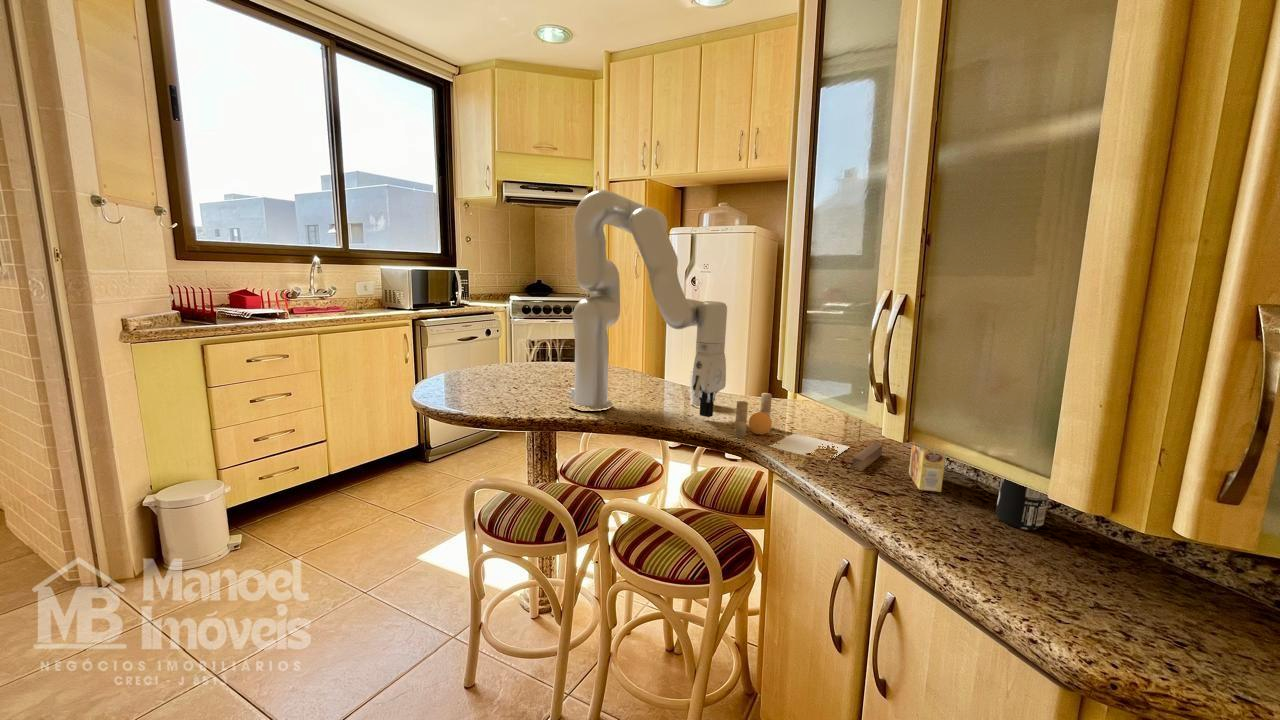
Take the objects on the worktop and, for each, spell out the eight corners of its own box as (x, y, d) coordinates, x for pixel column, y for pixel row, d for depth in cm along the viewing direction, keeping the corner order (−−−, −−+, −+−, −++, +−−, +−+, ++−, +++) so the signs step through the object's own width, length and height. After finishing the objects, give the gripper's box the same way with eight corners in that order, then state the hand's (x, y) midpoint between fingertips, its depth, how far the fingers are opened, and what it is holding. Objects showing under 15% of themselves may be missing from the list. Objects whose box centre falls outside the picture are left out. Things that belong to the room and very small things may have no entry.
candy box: (942, 493, 99) (953, 415, 96) (917, 490, 100) (928, 413, 97) (928, 476, 107) (939, 403, 105) (906, 473, 108) (915, 401, 106)
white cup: (684, 402, 159) (686, 370, 158) (708, 401, 162) (710, 370, 160) (694, 409, 152) (696, 376, 150) (719, 408, 154) (721, 375, 153)
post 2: (757, 427, 136) (759, 394, 135) (761, 425, 138) (764, 392, 137) (766, 429, 135) (769, 395, 133) (770, 427, 137) (773, 394, 135)
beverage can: (997, 509, 93) (1007, 445, 91) (1043, 521, 89) (1055, 454, 87) (992, 522, 88) (1004, 454, 86) (1041, 535, 84) (1054, 464, 81)
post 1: (732, 438, 127) (734, 402, 125) (737, 435, 129) (740, 400, 127) (741, 440, 125) (744, 404, 124) (747, 438, 127) (749, 402, 126)
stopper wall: (851, 469, 109) (852, 457, 109) (872, 452, 120) (873, 442, 120) (861, 471, 108) (862, 460, 108) (881, 455, 119) (882, 444, 118)
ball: (742, 431, 131) (747, 411, 129) (753, 427, 135) (757, 407, 134) (762, 440, 127) (767, 419, 126) (772, 435, 132) (777, 414, 130)
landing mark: (768, 446, 121) (768, 446, 121) (794, 434, 132) (794, 433, 132) (828, 462, 113) (828, 461, 113) (850, 447, 123) (850, 446, 123)
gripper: (706, 353, 129) (702, 424, 132) (737, 347, 141) (732, 413, 144) (682, 349, 134) (678, 418, 137) (713, 344, 145) (709, 408, 148)
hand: (706, 415), depth 140 cm, fingers closed
